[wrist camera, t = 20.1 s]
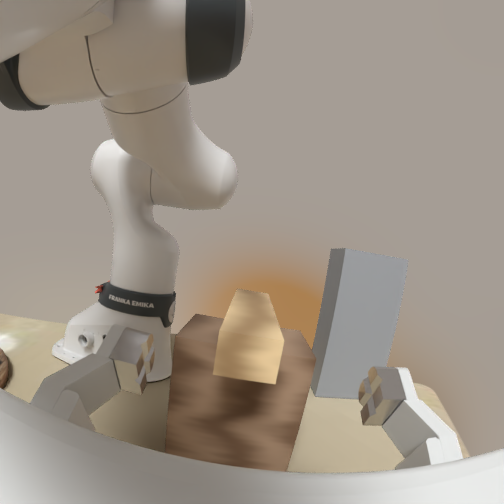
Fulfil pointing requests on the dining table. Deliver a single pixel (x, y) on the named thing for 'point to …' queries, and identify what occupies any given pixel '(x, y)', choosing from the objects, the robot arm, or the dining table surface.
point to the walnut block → (235, 402)
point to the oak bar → (249, 339)
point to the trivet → (3, 369)
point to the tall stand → (356, 320)
